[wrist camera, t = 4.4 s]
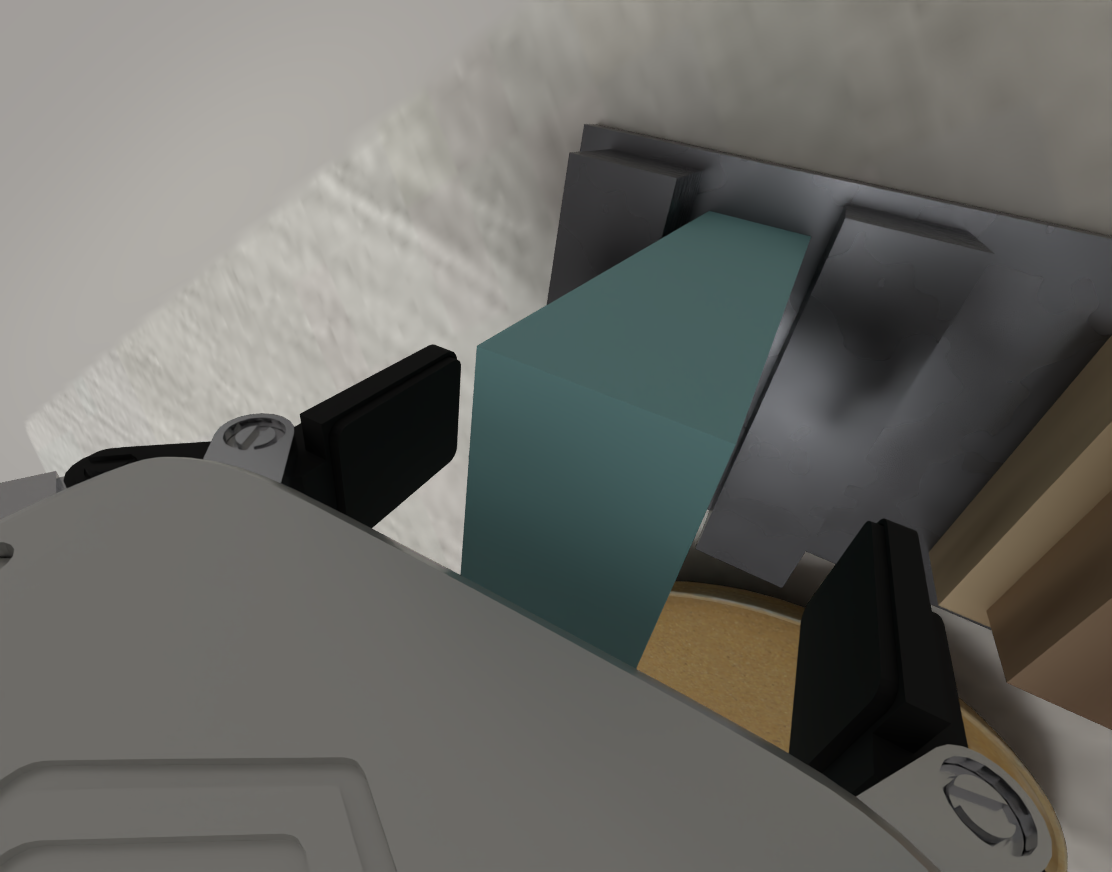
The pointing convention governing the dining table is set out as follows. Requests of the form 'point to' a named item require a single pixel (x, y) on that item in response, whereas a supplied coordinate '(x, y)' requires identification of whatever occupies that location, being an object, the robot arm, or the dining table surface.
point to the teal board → (620, 426)
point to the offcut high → (1063, 621)
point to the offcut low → (1031, 497)
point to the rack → (858, 339)
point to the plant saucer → (776, 674)
